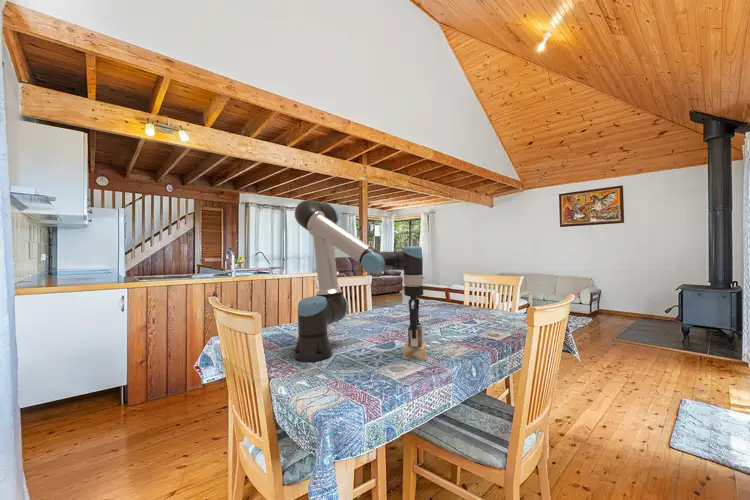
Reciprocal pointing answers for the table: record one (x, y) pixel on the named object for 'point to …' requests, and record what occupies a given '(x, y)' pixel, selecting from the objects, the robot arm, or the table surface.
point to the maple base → (415, 351)
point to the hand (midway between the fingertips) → (415, 344)
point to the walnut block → (418, 336)
